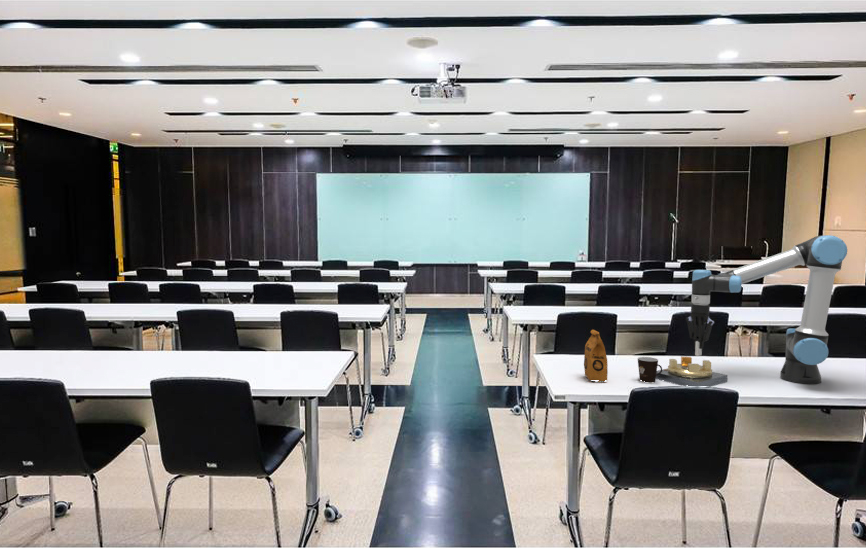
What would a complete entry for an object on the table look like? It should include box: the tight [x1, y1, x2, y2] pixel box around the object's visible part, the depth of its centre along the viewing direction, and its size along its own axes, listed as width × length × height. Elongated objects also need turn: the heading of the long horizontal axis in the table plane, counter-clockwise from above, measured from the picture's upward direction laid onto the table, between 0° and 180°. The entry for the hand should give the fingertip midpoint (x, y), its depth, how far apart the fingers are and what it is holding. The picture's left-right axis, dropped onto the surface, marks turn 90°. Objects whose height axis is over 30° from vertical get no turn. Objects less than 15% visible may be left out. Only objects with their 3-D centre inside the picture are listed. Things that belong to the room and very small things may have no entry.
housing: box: [655, 367, 729, 387], centre depth 242 cm, size 22×22×3 cm
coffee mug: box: [637, 356, 663, 383], centre depth 239 cm, size 12×9×10 cm
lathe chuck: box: [667, 356, 713, 378], centre depth 241 cm, size 18×18×6 cm
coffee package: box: [583, 329, 609, 381], centre depth 244 cm, size 10×12×22 cm
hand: (698, 355), depth 245 cm, fingers closed
